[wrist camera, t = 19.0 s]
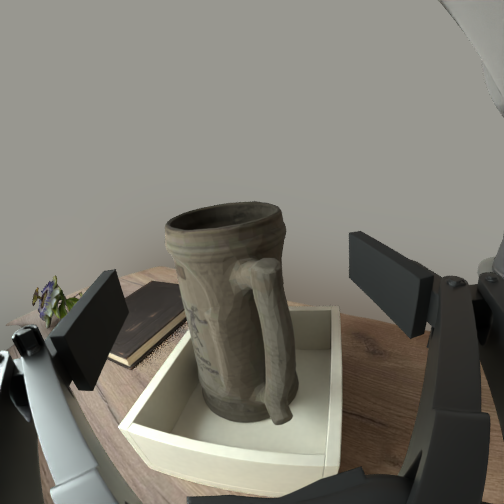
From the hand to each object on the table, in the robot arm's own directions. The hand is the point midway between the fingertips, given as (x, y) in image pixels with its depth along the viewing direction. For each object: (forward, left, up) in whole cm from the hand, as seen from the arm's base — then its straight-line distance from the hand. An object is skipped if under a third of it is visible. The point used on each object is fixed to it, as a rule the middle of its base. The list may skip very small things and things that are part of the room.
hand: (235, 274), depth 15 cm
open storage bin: (+2, -6, -19) cm, 20 cm away
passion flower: (+47, -18, -20) cm, 54 cm away
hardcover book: (+27, -22, -20) cm, 40 cm away
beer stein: (+2, -7, -18) cm, 19 cm away
